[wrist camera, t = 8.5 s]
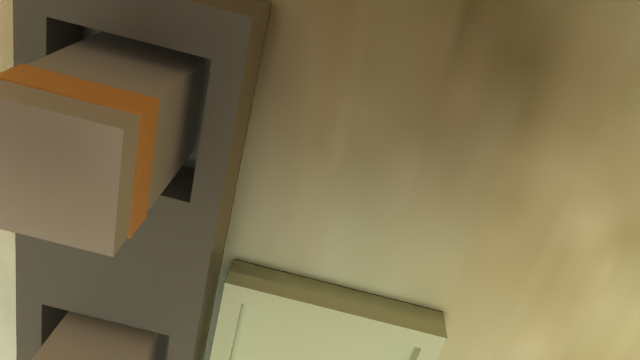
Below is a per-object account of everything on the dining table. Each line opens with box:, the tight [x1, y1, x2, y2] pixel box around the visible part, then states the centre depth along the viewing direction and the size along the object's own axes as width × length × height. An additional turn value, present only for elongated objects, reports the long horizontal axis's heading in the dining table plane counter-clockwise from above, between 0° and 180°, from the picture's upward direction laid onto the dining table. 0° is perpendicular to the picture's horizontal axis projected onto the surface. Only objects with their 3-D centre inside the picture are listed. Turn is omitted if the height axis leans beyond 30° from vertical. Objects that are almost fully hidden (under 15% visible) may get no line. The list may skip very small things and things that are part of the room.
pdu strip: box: [0, 0, 271, 360], centre depth 20 cm, size 7×20×8 cm, turn 167°
